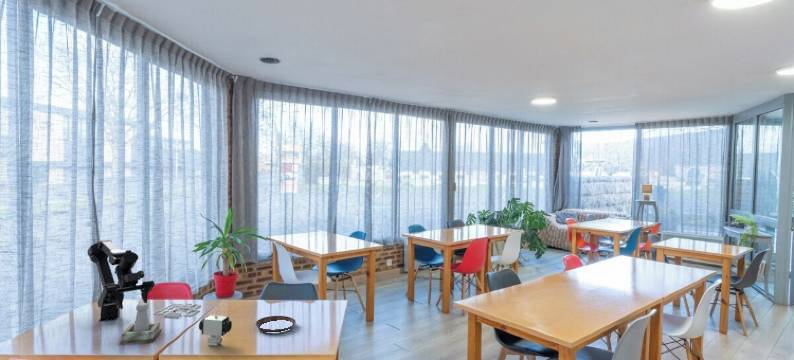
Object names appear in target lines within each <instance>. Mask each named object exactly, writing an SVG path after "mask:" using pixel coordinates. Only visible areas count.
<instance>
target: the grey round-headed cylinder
mask: <svg viewBox="0 0 794 360" xmlns="http://www.w3.org/2000/svg"><path fill="white" fill-rule="evenodd" d="M135 308H136V311H137V312H136V316H135V321H134V323H133V324H134V329H133V332H136V331H149V323H150V321H149V317H148V316H149V315H148V309H149V304H148V302H147V303H144V302H142V303H138V304H137V305H136V306H135Z"/></svg>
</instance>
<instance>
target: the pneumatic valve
mask: <svg viewBox="0 0 794 360" xmlns="http://www.w3.org/2000/svg"><path fill="white" fill-rule="evenodd" d="M232 327H233V323H232V321H231V320H230V316H222V315H217V314H214V315H206V317H203V318H201V319H200V322H199V324H198V329H199V330H198V331H200V332H201V335H204V336H205V335H207V336H208V337H207V341H206V342H207V345H208V346H211V347H218V346H219V345H221V344H222V343H223V338H222V337H223V336H225V335H226V334H228V333H230V331H231V330H232Z"/></svg>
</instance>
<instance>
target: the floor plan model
mask: <svg viewBox="0 0 794 360" xmlns="http://www.w3.org/2000/svg"><path fill="white" fill-rule="evenodd" d="M201 307H202V304H201V303H171V304H168V305H167V306H165V307H163V308H161V309H159V310H157V311H155V312H153V315H158V316H159V315H160V316H163V318H169V319H180V317H182V312H183V317H187V318H188V317H189V318H191V317H192V316H195V315H196V314H198V313H199V312H200V311H201V309H199V308H201ZM177 311H181V312H177Z"/></svg>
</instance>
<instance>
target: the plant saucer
mask: <svg viewBox="0 0 794 360" xmlns="http://www.w3.org/2000/svg"><path fill="white" fill-rule="evenodd" d="M277 320H286V321H290V322H292V323H293V324H294V325H292V326H290V327H288V328H284V329H275V330H271V329H263V328H260V326H261V325H262V324H264V323H267V322H270V321H277ZM296 323H297V322H296V319H294V318H293V317H291V316H287V315H286V316H285V315H271V316H265V317H261V318H259V319H258V320H257V321H256V322H255V325H256V328H257V329H258V330H259V331H260V332H261V331H263V332H281V331H285V330H288V329H290V330H291V329H292V328H294V326H295V325H296ZM263 332H262V333H263Z"/></svg>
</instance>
